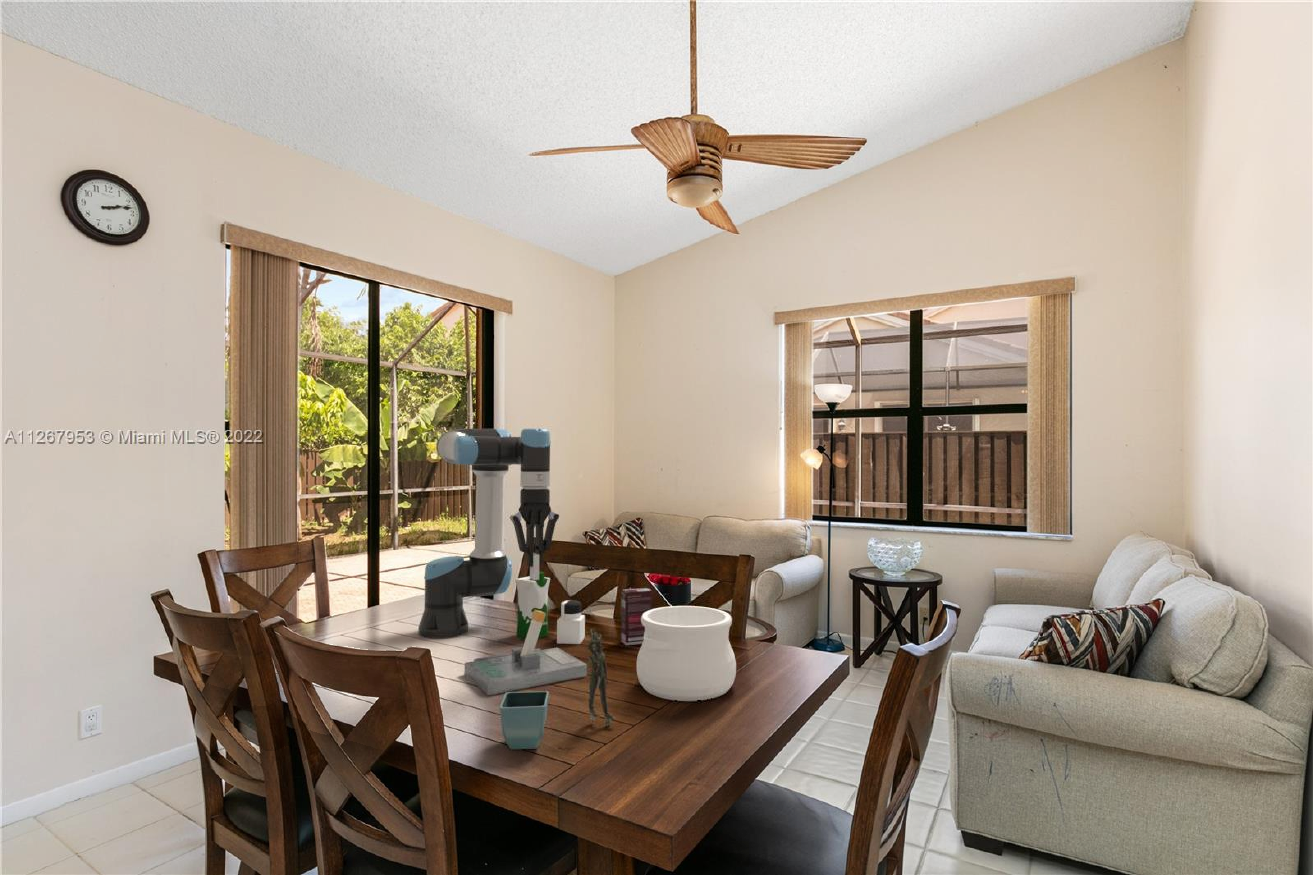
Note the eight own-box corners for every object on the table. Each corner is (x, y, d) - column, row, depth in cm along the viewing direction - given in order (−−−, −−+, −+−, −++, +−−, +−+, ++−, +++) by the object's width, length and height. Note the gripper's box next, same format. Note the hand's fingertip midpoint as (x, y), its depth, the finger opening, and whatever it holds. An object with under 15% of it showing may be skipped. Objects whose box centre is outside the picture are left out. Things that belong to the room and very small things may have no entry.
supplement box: (647, 639, 212) (647, 587, 213) (652, 643, 208) (653, 590, 208) (620, 641, 209) (620, 589, 210) (625, 645, 205) (625, 592, 205)
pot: (686, 664, 187) (686, 599, 188) (758, 687, 170) (758, 615, 170) (613, 687, 169) (613, 615, 169) (686, 715, 152) (686, 635, 152)
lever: (518, 658, 179) (533, 609, 181) (525, 659, 180) (540, 610, 182) (524, 662, 175) (540, 612, 178) (531, 663, 176) (546, 614, 179)
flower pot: (504, 736, 140) (505, 691, 140) (548, 734, 141) (549, 690, 141) (498, 755, 131) (499, 707, 132) (545, 753, 132) (545, 706, 132)
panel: (464, 674, 178) (464, 651, 178) (557, 658, 192) (557, 636, 192) (488, 695, 163) (488, 670, 163) (586, 676, 177) (586, 652, 177)
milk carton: (532, 641, 209) (532, 575, 209) (511, 637, 214) (512, 572, 214) (552, 635, 216) (553, 571, 216) (532, 631, 221) (532, 568, 221)
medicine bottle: (585, 638, 213) (585, 599, 213) (580, 644, 206) (580, 604, 206) (562, 637, 214) (562, 598, 214) (556, 643, 207) (556, 603, 207)
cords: (468, 668, 183) (468, 658, 183) (540, 656, 194) (541, 646, 194) (473, 673, 179) (473, 662, 179) (547, 660, 190) (547, 650, 190)
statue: (607, 733, 142) (607, 635, 142) (582, 726, 145) (582, 631, 145) (619, 725, 146) (620, 629, 146) (594, 719, 149) (595, 626, 149)
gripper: (516, 489, 173) (515, 583, 173) (564, 488, 180) (563, 579, 179) (506, 487, 179) (505, 579, 179) (552, 486, 186) (552, 574, 186)
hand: (534, 579), depth 179 cm, fingers closed
